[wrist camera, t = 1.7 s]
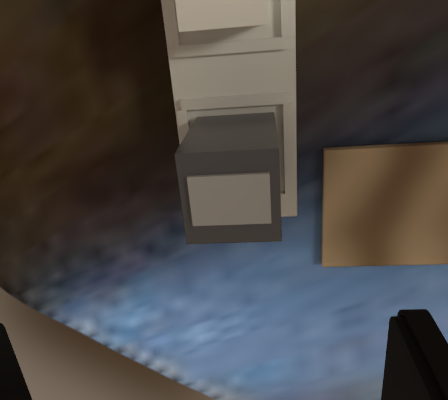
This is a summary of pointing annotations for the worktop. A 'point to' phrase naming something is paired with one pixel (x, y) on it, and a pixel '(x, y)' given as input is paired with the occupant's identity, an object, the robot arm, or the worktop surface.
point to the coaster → (385, 205)
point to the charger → (230, 179)
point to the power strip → (236, 69)
